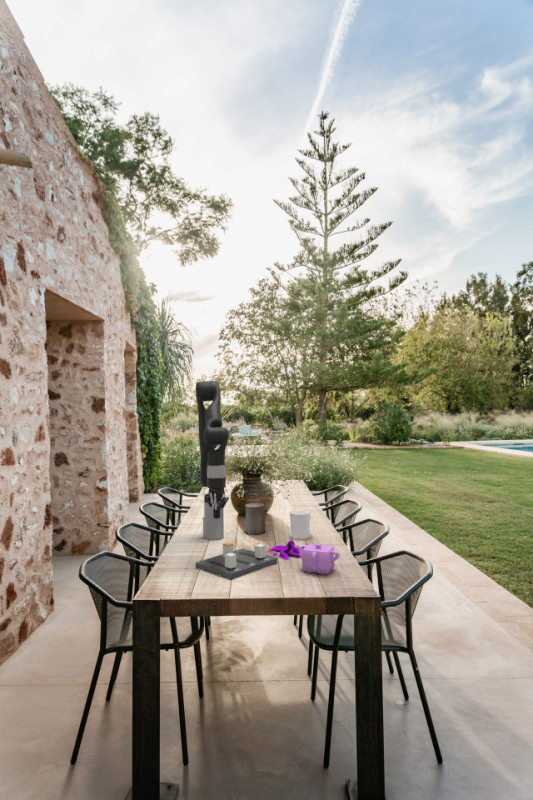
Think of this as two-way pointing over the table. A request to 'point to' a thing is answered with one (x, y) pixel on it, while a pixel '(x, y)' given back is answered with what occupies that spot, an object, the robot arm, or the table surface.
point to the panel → (244, 564)
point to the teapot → (318, 558)
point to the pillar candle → (255, 518)
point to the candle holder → (300, 524)
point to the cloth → (286, 550)
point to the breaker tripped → (228, 548)
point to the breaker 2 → (260, 551)
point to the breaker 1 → (230, 560)
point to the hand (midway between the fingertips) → (216, 518)
